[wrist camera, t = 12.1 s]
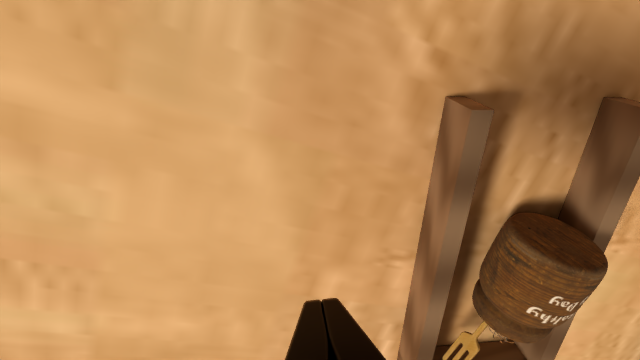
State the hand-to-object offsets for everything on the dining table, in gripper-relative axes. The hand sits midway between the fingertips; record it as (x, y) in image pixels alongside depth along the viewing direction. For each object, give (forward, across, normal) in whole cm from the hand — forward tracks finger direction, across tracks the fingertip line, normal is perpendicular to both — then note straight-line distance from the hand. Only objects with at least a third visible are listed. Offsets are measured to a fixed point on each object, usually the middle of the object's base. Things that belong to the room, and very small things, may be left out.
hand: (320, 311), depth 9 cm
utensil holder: (+9, -16, +6) cm, 19 cm away
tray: (+13, -14, +9) cm, 21 cm away
